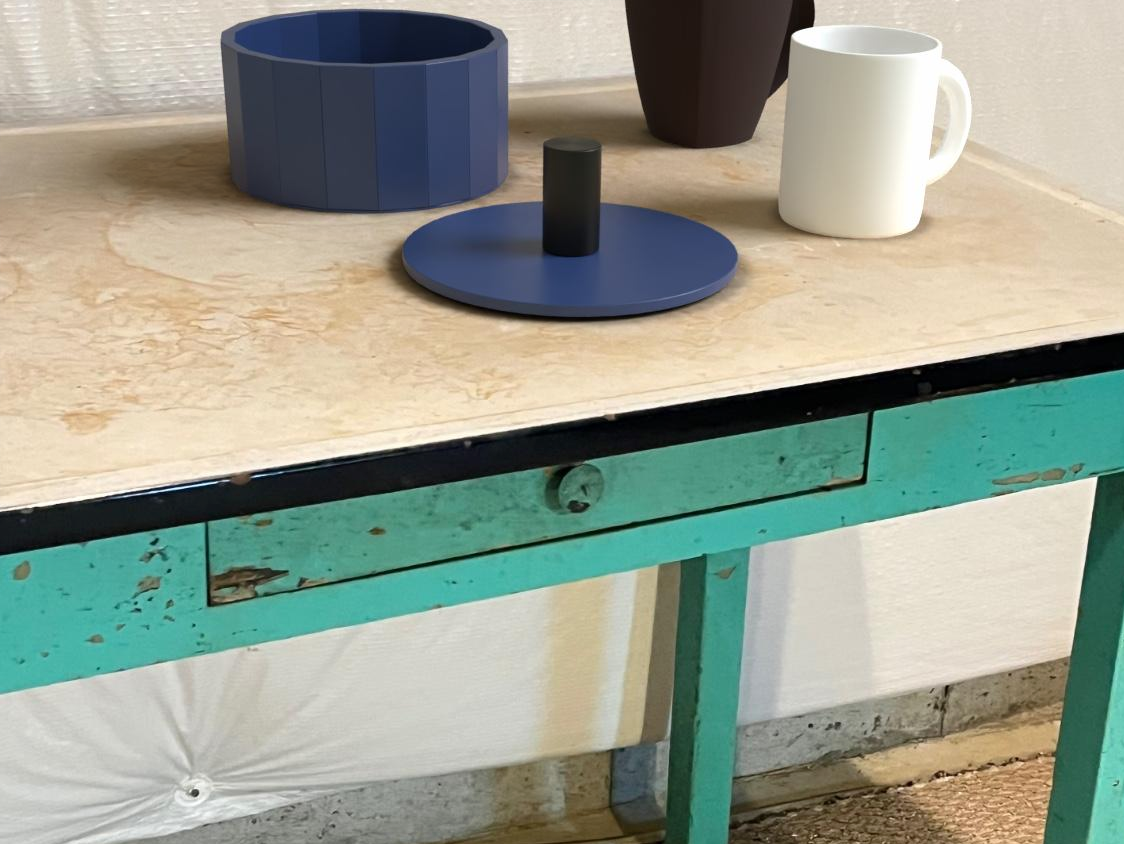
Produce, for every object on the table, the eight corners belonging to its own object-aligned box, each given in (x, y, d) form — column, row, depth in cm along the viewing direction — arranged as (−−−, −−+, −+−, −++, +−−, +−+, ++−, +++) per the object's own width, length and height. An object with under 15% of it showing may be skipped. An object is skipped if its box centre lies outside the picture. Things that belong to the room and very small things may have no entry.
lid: (334, 284, 87) (327, 153, 83) (519, 203, 100) (519, 88, 97) (634, 355, 79) (639, 214, 76) (791, 257, 93) (801, 133, 89)
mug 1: (596, 134, 115) (600, -54, 109) (748, 108, 122) (760, -69, 116) (691, 167, 108) (702, -31, 102) (846, 138, 115) (864, -49, 110)
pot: (172, 188, 101) (158, 41, 97) (347, 131, 114) (340, -2, 110) (399, 237, 94) (394, 80, 90) (558, 170, 107) (560, 30, 103)
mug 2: (916, 190, 105) (937, 16, 100) (1001, 228, 98) (1028, 44, 93) (750, 211, 100) (762, 30, 95) (827, 252, 93) (845, 59, 88)
